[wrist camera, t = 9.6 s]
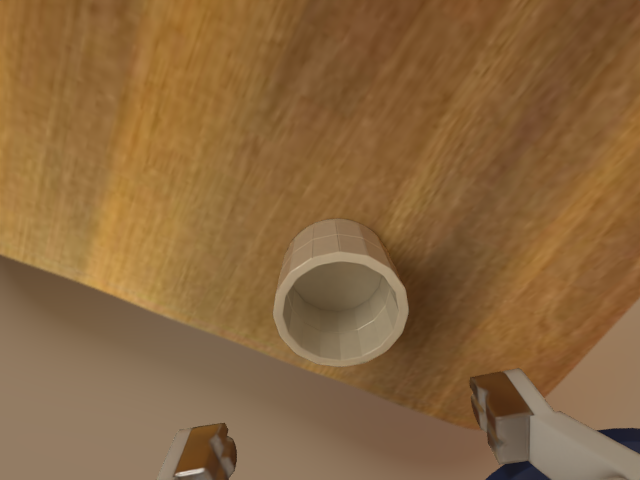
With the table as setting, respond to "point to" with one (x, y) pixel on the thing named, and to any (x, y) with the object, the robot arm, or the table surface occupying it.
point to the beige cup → (339, 295)
